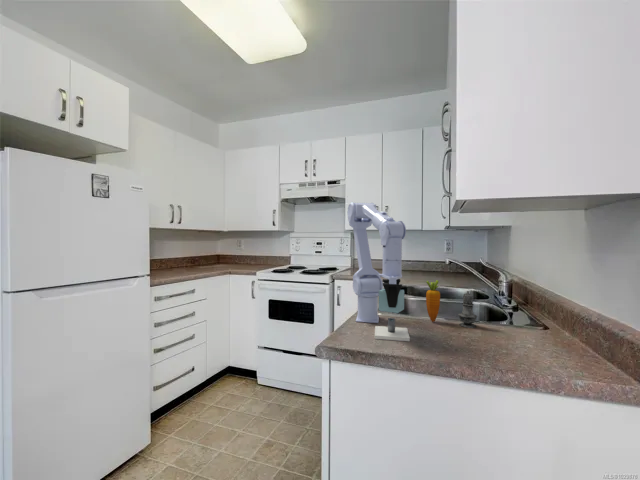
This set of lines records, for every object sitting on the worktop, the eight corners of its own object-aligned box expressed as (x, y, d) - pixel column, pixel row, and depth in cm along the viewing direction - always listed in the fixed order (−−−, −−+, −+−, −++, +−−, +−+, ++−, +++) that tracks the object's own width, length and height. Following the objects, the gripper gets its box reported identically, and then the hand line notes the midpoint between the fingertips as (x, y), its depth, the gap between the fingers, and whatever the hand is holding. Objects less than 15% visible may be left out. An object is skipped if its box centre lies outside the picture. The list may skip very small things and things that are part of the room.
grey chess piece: (478, 328, 100) (479, 292, 100) (459, 327, 102) (459, 291, 102) (475, 324, 106) (476, 289, 106) (457, 322, 108) (457, 288, 108)
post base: (375, 328, 99) (375, 313, 99) (406, 331, 97) (407, 315, 97) (374, 338, 90) (374, 321, 90) (409, 341, 88) (409, 324, 88)
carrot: (422, 321, 108) (423, 279, 108) (429, 319, 112) (430, 278, 112) (436, 324, 105) (436, 281, 105) (442, 322, 108) (443, 280, 108)
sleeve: (385, 306, 98) (385, 288, 98) (404, 309, 94) (404, 289, 94) (378, 310, 93) (378, 290, 92) (397, 313, 89) (398, 292, 89)
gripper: (378, 258, 101) (378, 299, 101) (378, 261, 87) (378, 308, 87) (400, 258, 100) (400, 300, 100) (404, 262, 86) (403, 310, 86)
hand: (391, 304), depth 93 cm, fingers closed on sleeve, 7 cm apart
